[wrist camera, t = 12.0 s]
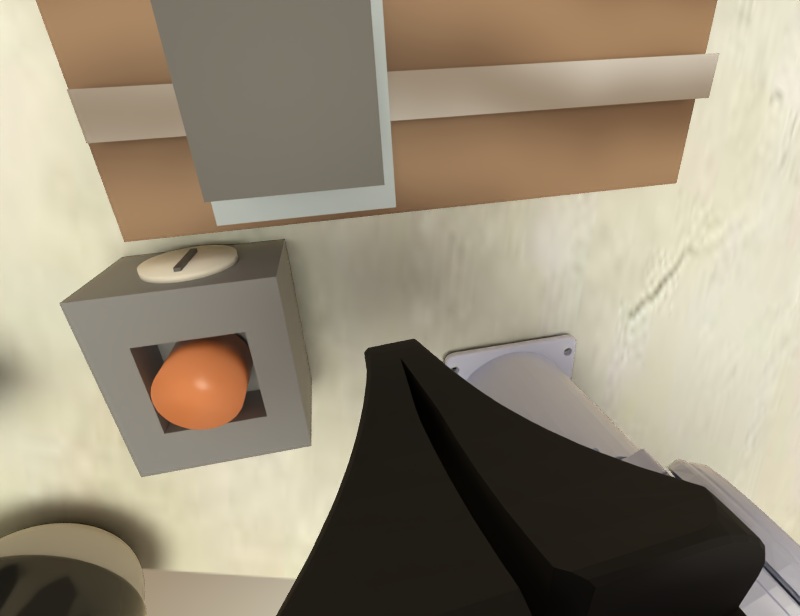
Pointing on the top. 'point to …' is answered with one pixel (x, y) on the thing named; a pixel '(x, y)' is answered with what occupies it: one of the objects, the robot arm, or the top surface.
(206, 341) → the button
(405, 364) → the robot arm
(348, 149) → the carriage
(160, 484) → the top surface
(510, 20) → the rail track
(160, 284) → the gauge cabinet
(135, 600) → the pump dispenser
